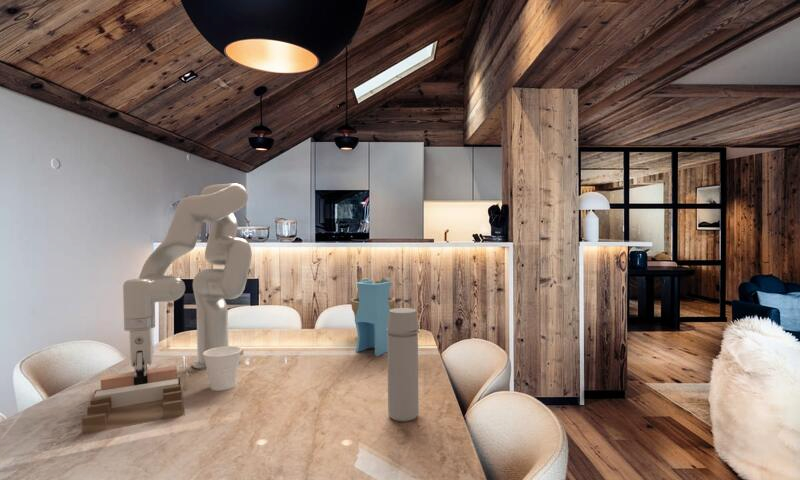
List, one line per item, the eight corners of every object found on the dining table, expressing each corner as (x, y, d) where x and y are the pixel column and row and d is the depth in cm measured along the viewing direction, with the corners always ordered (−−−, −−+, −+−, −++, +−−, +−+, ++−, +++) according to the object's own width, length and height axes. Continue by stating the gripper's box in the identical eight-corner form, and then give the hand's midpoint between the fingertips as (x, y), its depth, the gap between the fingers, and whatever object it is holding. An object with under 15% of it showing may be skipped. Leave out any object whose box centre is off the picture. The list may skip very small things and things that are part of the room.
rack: (93, 407, 109) (92, 390, 109) (182, 392, 118) (182, 376, 118) (79, 440, 92) (79, 419, 92) (185, 420, 101) (184, 401, 101)
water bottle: (409, 426, 97) (408, 314, 96) (380, 418, 101) (379, 311, 100) (429, 411, 104) (428, 308, 104) (401, 404, 109) (400, 305, 108)
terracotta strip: (176, 382, 128) (176, 365, 128) (176, 386, 124) (176, 369, 124) (103, 393, 119) (102, 375, 119) (101, 398, 116) (100, 380, 116)
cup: (249, 386, 123) (249, 347, 123) (225, 399, 114) (224, 357, 113) (221, 382, 126) (220, 345, 126) (195, 395, 117) (194, 354, 117)
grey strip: (178, 391, 116) (178, 378, 116) (178, 396, 112) (178, 383, 112) (96, 405, 107) (96, 391, 107) (94, 411, 104) (94, 396, 104)
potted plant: (345, 341, 172) (344, 278, 172) (358, 330, 191) (357, 273, 190) (391, 342, 169) (390, 278, 169) (399, 331, 188) (398, 274, 187)
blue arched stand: (392, 349, 160) (392, 281, 159) (377, 355, 151) (376, 284, 151) (371, 345, 165) (370, 280, 164) (355, 351, 157) (354, 283, 156)
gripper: (154, 327, 116) (156, 395, 116) (155, 316, 131) (157, 376, 131) (121, 330, 112) (123, 400, 113) (126, 319, 127) (128, 381, 127)
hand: (141, 387), depth 122 cm, fingers open, 4 cm apart
